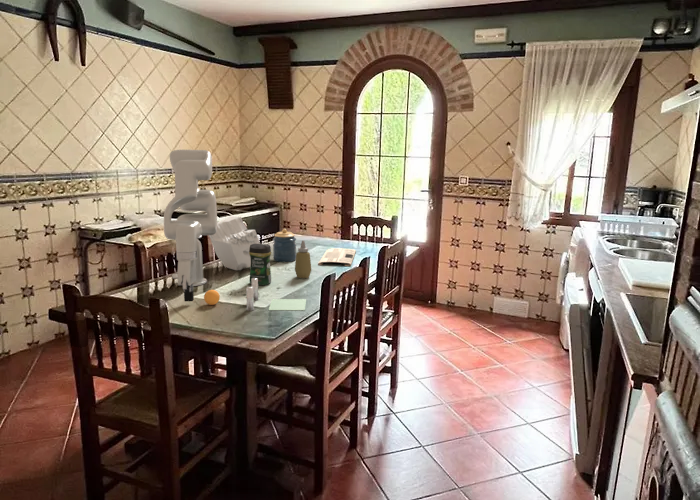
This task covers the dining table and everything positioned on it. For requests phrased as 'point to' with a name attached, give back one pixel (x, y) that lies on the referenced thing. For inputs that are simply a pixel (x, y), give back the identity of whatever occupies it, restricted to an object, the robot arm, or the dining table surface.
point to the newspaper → (338, 256)
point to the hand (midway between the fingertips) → (189, 300)
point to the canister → (284, 246)
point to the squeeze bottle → (303, 262)
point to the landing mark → (287, 304)
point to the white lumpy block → (233, 242)
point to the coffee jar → (260, 263)
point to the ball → (211, 297)
